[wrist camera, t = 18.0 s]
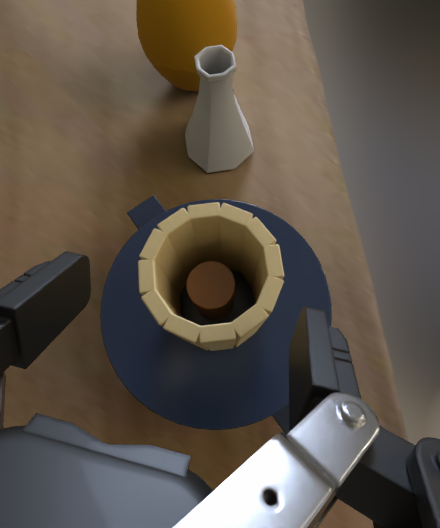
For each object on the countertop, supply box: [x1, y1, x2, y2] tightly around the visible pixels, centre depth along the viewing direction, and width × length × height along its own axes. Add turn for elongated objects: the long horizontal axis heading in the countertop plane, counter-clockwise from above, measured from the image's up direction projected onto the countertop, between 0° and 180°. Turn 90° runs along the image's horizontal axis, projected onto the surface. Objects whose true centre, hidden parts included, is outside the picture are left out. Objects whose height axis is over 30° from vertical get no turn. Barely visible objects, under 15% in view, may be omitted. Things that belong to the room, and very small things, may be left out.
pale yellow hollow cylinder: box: [138, 202, 284, 351], centre depth 17 cm, size 6×6×8 cm
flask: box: [185, 45, 254, 173], centre depth 30 cm, size 7×7×10 cm
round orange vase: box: [137, 0, 237, 91], centre depth 32 cm, size 10×10×12 cm
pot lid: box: [101, 199, 332, 430], centre depth 19 cm, size 15×15×6 cm
